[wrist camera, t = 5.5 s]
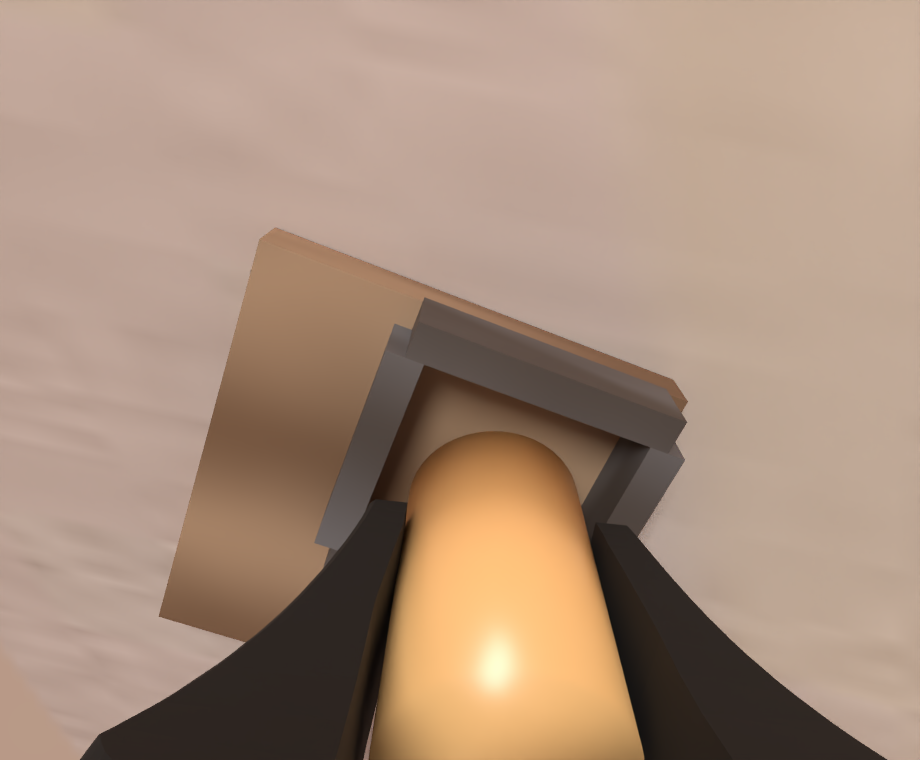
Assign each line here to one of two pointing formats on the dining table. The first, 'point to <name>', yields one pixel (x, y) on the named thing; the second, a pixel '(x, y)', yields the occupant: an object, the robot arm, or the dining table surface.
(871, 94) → the dining table surface
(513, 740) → the orange capsule
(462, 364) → the housing
